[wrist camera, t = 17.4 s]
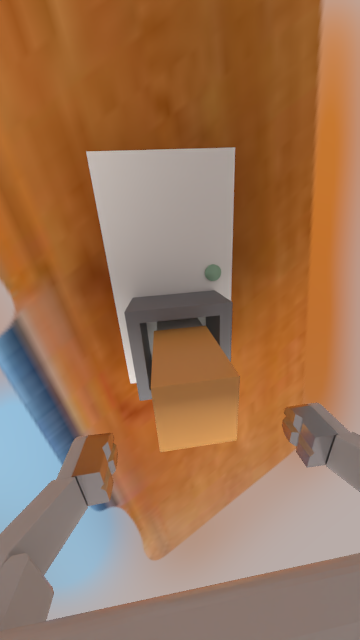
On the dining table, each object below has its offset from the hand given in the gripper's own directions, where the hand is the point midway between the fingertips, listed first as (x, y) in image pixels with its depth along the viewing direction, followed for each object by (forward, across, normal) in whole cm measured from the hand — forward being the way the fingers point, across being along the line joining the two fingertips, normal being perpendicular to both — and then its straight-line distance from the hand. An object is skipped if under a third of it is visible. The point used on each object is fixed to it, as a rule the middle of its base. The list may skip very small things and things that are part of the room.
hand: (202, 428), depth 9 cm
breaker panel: (+14, 0, -4) cm, 14 cm away
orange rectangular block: (+8, 0, 0) cm, 8 cm away
